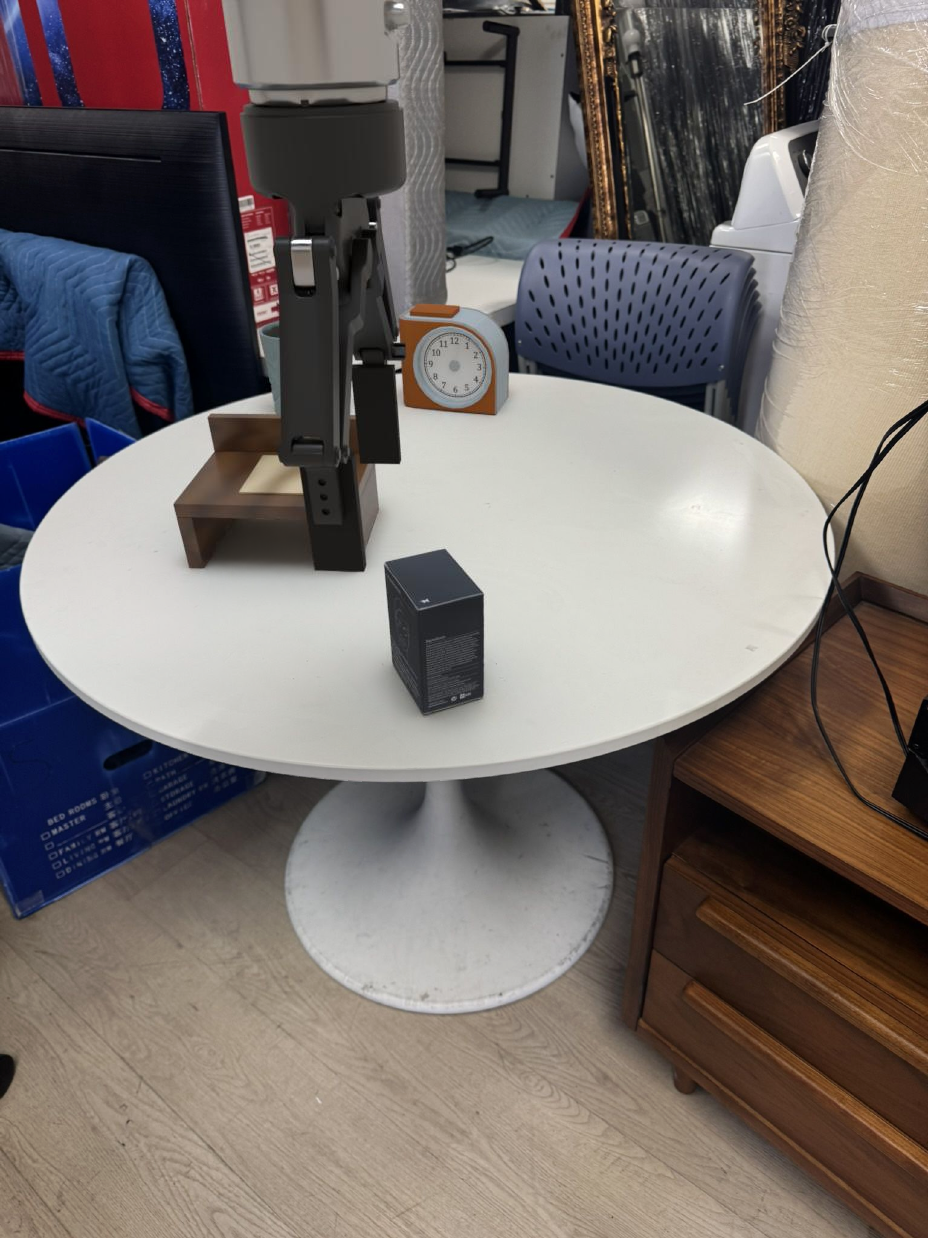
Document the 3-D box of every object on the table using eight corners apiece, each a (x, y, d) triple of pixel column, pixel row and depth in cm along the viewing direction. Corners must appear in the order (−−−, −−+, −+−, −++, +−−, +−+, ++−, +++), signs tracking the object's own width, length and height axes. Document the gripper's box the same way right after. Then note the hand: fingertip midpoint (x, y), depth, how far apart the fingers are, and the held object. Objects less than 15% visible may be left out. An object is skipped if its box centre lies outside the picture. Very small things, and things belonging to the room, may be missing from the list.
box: (485, 698, 68) (485, 592, 62) (422, 717, 66) (416, 610, 60) (449, 646, 74) (446, 545, 68) (390, 662, 72) (381, 560, 66)
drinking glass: (259, 409, 123) (245, 328, 116) (315, 392, 128) (305, 313, 121) (296, 428, 116) (284, 343, 109) (353, 409, 122) (345, 327, 115)
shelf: (188, 567, 86) (163, 467, 79) (229, 505, 97) (210, 413, 91) (357, 571, 85) (346, 469, 78) (379, 508, 96) (370, 414, 89)
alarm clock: (399, 407, 122) (393, 313, 115) (417, 387, 129) (413, 298, 121) (494, 415, 119) (495, 320, 111) (508, 395, 125) (510, 304, 118)
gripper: (349, 114, 27) (393, 631, 39) (431, 81, 47) (444, 429, 60) (130, 118, 28) (241, 627, 40) (304, 84, 48) (342, 428, 60)
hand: (363, 509), depth 50 cm, fingers open, 13 cm apart
